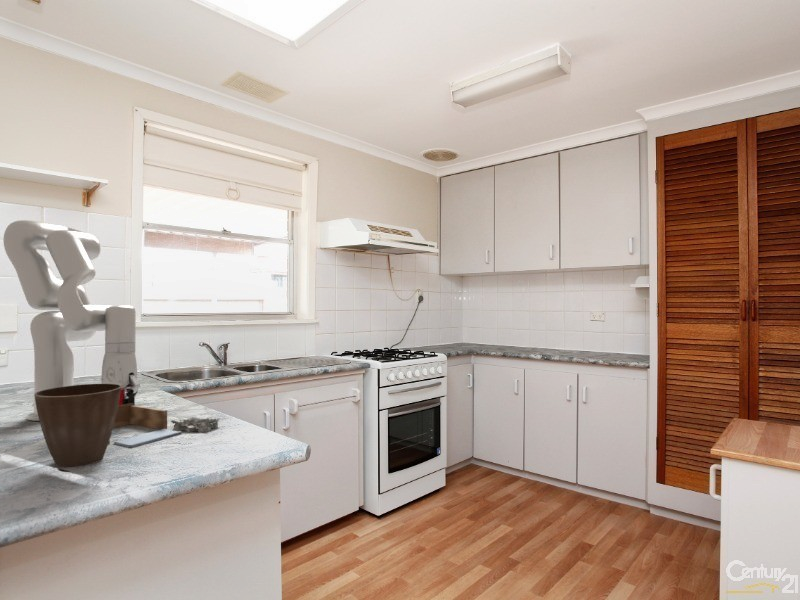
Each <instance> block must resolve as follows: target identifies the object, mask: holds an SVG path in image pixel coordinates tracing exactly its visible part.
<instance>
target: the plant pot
mask: <svg viewBox="0 0 800 600" xmlns="http://www.w3.org/2000/svg"><path fill="white" fill-rule="evenodd" d="M120 391H121V386H120V385H117V384H101V383H87V384H86V383H85V384H76V385H75V384H73V386H64V387H57V388H51V389H46V390H42V391H39V392H36V393H35V394H34V393H33V396H35V402H36V408H37V413H38V417H39V421H38V422H39V424H40V429H41V432H42V435H43V436H44V437H43V438H44V441H45V443H46V446H47V448H48V451H49V453H50V456H51V458H52V459H53V462H54V464H55V466H56V467H57V470H58V471H60V472H63V473H71V471H70V470H66V469H63V468H76V467H82V466H87V465H91V464H94V463H97V462H99V461H101V460H103V458H104V456H105V454H106V451H107V448H108V445H109V444H108V443H109V440H110V441H111V435H112V433H113V429H114V427H113V426H114V422H115V418H116V414H117V409H118V404H119V397H120Z"/></svg>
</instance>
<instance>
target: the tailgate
mask: <svg viewBox="0 0 800 600" xmlns="http://www.w3.org/2000/svg"><path fill="white" fill-rule="evenodd" d="M179 435H182V430H180V431H175V430H174V429H173V430H172V429H170V428H169V429H168V428H167V429H156V430H153V431H150V432H146V433H143V434H138V435H134V436H131V437H127V438H122V439H118V440H115V441H114V442H113V444H114V445H117V446H120V447H121V446H122V447H127V448H131V449H133V448H136V447H139V446H144V445H146V444H147V445H148V444H150V443H153V442H158V441H161V440H165V439H169V438H172V437H176V436H179Z"/></svg>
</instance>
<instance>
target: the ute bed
mask: <svg viewBox="0 0 800 600" xmlns="http://www.w3.org/2000/svg"><path fill="white" fill-rule="evenodd" d="M125 425H136V426H140V427H146V428H151V429H152V428H153V429H156V430H161V429H168V410H167V409H160V408H156V407H155V408H153V407H148V406H141V405H133V403H129V404H123V405H118V409H117V414H116V418H115V422H114V426H113V428H118V427H121V426H125ZM110 441H111V439H110V440H109V443H108V445H110Z"/></svg>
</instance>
